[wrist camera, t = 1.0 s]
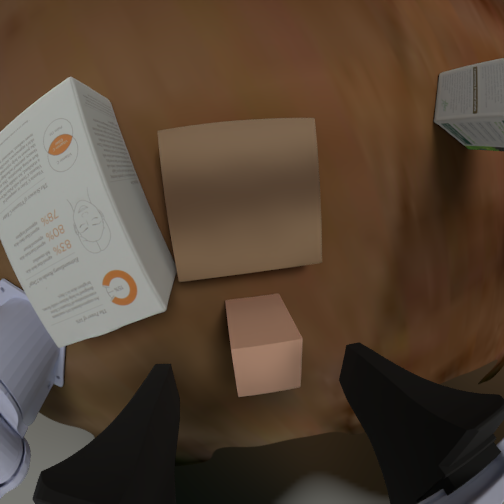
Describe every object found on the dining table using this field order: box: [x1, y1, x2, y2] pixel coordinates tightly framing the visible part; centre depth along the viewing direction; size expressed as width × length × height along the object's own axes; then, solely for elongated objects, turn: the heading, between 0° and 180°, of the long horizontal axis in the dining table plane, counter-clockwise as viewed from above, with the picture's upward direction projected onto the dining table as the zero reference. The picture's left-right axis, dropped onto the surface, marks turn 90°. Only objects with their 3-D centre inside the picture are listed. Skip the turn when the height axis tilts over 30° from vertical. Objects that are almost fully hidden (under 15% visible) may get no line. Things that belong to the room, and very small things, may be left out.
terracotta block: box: [225, 294, 302, 397], centre depth 18 cm, size 4×4×6 cm
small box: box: [0, 77, 177, 348], centre depth 14 cm, size 8×6×13 cm
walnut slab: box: [158, 118, 322, 282], centre depth 17 cm, size 9×9×3 cm
